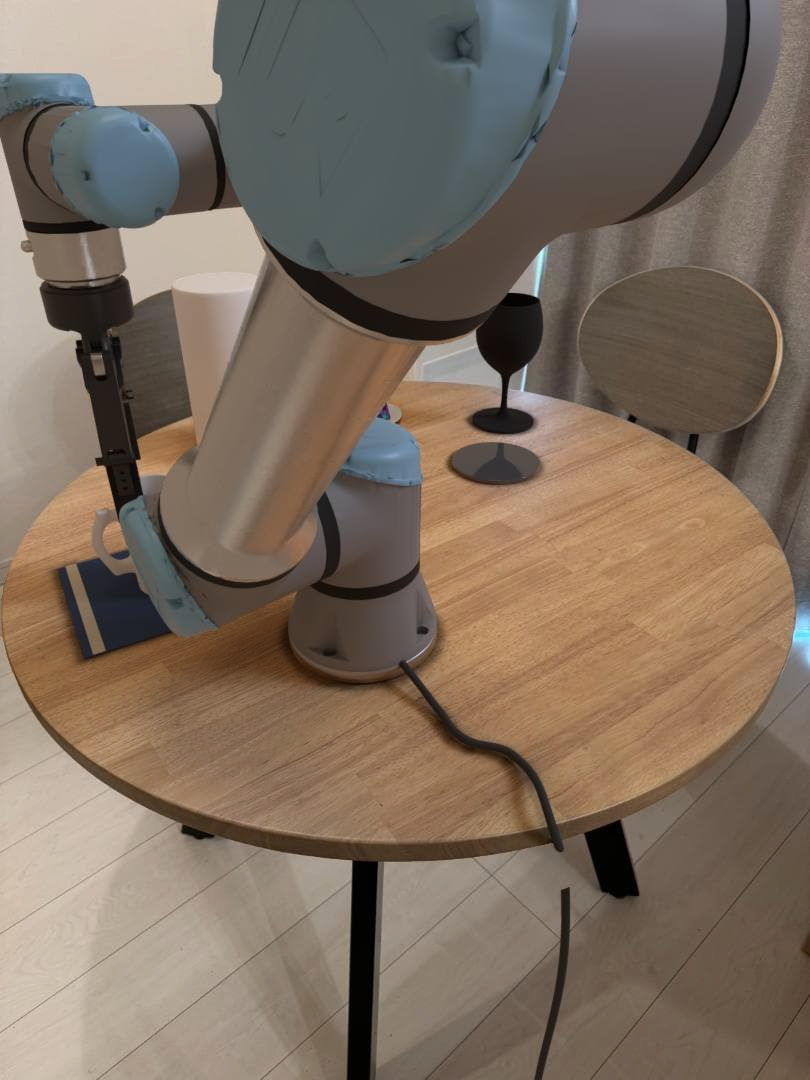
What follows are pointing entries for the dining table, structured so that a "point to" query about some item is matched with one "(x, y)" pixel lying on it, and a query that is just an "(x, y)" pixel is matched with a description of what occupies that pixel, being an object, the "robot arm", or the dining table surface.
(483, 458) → the coaster
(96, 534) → the mug
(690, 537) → the dining table surface
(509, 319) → the wine glass
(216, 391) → the cylinder
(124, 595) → the placemat
